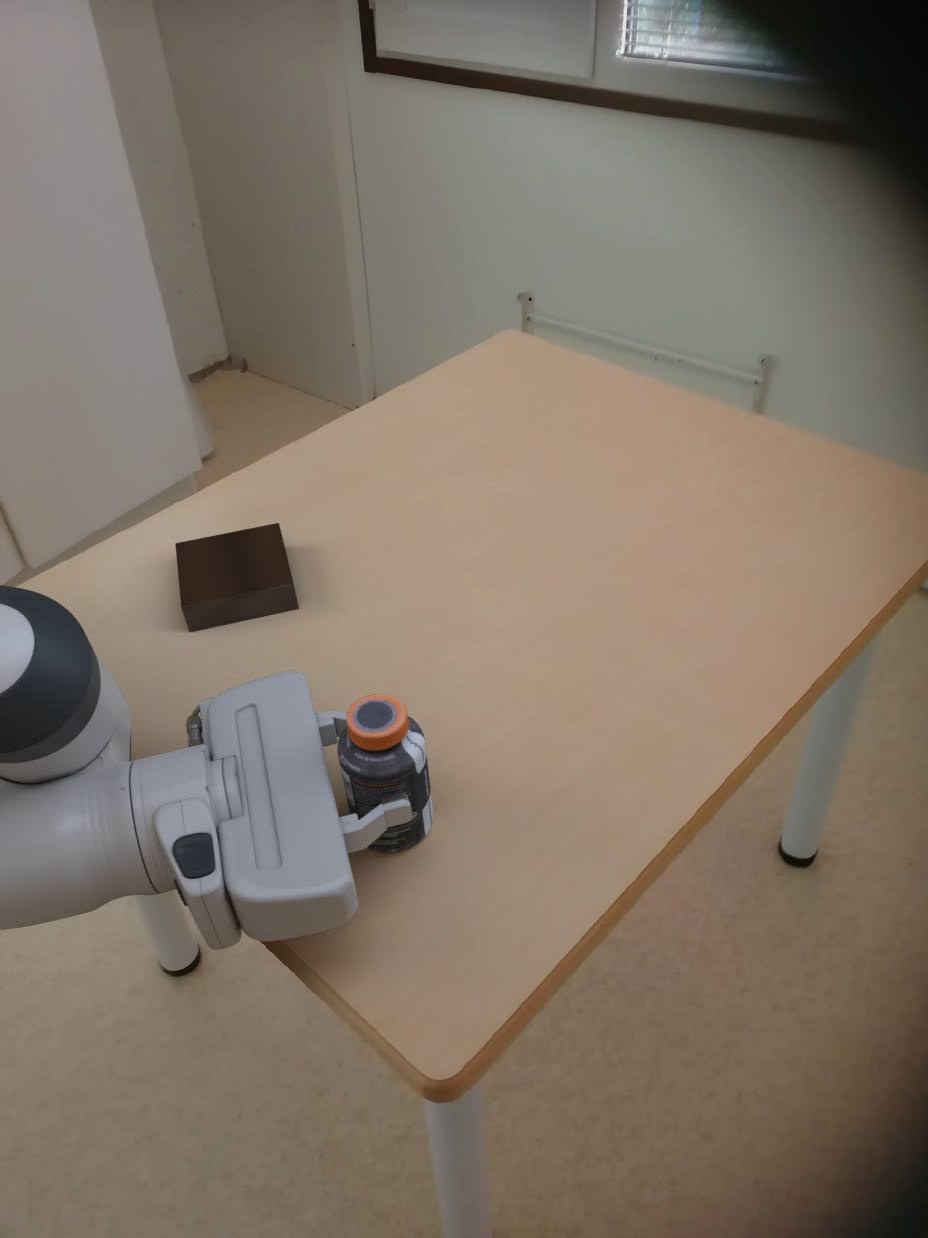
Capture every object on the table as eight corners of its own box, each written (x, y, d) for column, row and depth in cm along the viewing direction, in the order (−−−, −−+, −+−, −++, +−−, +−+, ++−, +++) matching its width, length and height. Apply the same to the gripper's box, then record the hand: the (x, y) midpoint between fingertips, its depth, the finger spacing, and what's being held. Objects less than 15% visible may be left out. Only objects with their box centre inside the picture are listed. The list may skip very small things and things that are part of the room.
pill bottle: (449, 809, 70) (440, 701, 62) (403, 868, 66) (386, 762, 59) (384, 777, 72) (367, 670, 65) (335, 832, 69) (311, 726, 61)
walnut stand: (189, 632, 86) (181, 607, 84) (182, 567, 93) (175, 543, 91) (299, 608, 88) (293, 583, 86) (284, 547, 95) (278, 522, 93)
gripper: (194, 734, 73) (371, 693, 75) (216, 975, 58) (437, 913, 60) (173, 675, 69) (362, 633, 71) (192, 918, 54) (430, 854, 56)
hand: (397, 764), depth 66 cm, fingers closed on pill bottle, 6 cm apart
